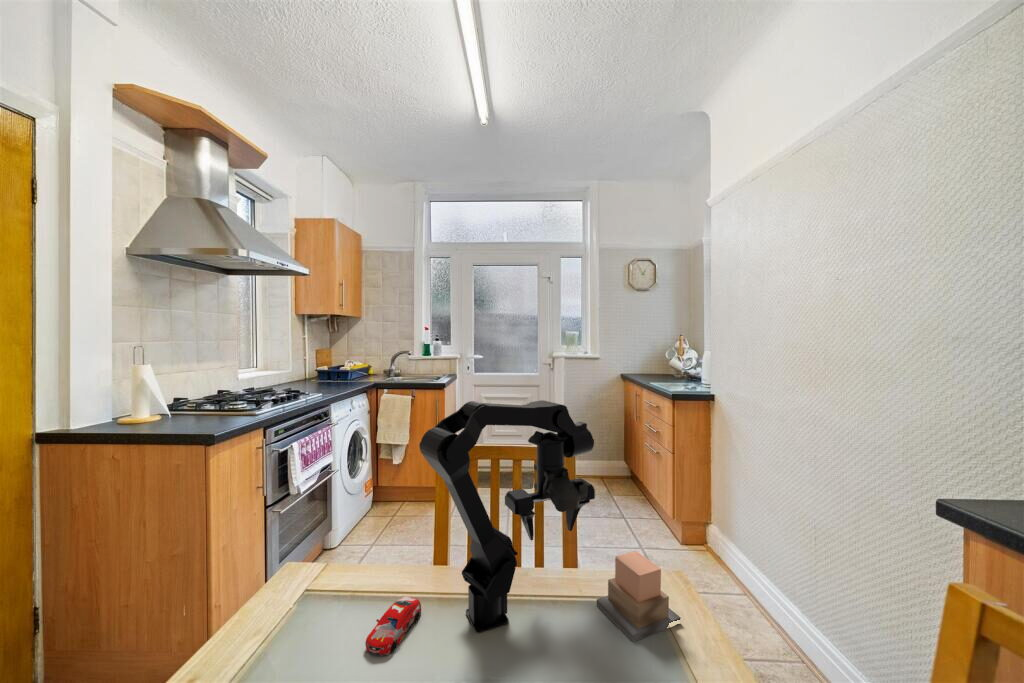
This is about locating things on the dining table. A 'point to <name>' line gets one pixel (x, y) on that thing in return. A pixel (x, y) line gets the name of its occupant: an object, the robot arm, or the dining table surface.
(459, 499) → the robot arm
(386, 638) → the race car
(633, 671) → the dining table surface
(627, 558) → the terracotta brick
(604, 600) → the tower base
